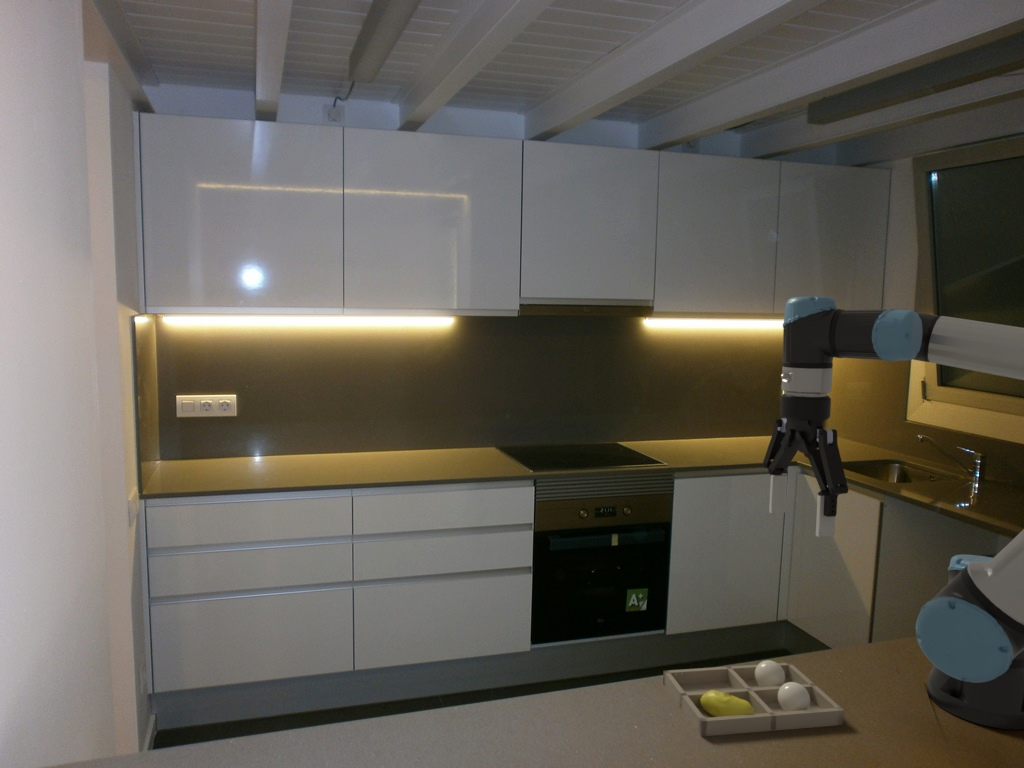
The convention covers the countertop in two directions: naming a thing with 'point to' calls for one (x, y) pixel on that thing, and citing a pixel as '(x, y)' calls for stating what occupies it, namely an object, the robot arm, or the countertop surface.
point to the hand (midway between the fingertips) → (799, 523)
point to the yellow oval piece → (725, 704)
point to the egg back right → (769, 674)
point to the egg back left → (793, 697)
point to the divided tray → (745, 687)
